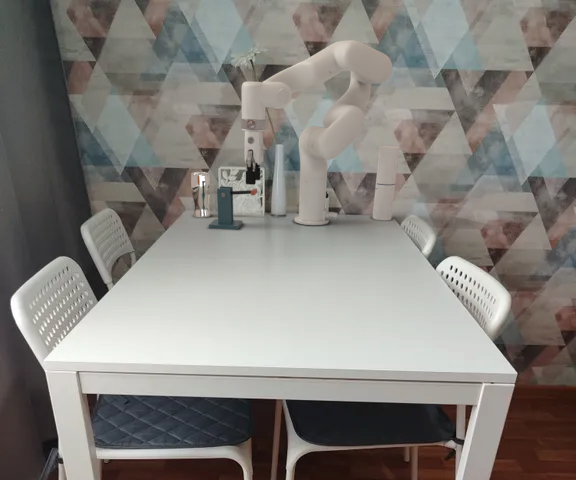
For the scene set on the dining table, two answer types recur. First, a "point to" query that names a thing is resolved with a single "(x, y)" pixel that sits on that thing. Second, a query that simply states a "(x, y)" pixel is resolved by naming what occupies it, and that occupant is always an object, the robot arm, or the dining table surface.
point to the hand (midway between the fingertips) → (253, 182)
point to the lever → (244, 192)
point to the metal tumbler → (201, 193)
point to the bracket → (225, 210)
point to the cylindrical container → (385, 182)
